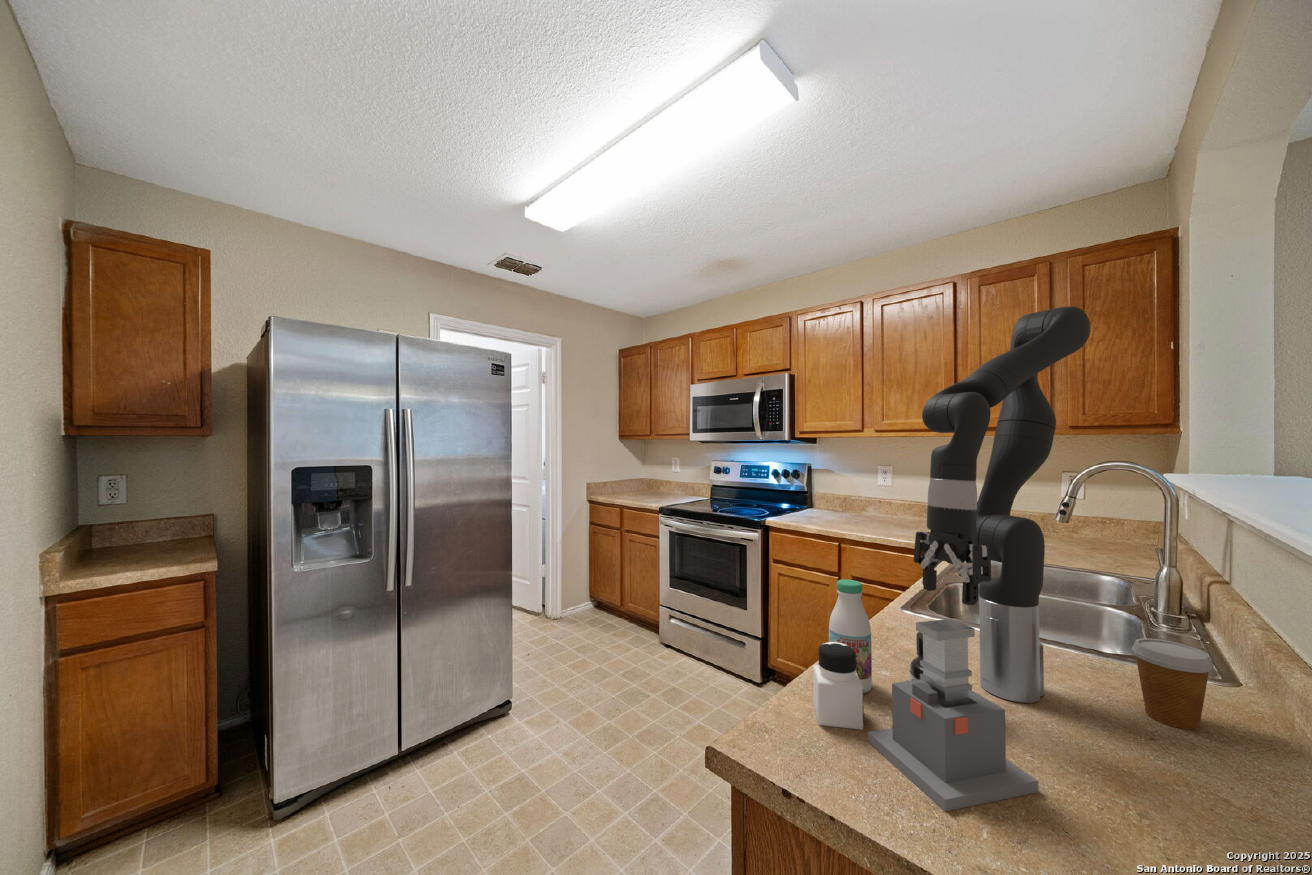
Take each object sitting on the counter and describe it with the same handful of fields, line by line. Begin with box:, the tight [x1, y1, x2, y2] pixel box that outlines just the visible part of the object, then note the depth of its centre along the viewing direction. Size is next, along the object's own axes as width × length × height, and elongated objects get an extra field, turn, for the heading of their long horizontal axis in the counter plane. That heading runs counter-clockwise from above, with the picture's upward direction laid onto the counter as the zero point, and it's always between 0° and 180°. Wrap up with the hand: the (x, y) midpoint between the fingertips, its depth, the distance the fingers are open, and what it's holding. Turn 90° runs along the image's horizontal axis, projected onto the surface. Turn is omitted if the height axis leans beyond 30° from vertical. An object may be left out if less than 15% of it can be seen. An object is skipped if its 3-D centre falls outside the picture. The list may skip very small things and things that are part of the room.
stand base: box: [867, 679, 1039, 812], centre depth 71 cm, size 15×15×12 cm
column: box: [915, 618, 976, 708], centre depth 71 cm, size 6×5×18 cm
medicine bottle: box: [812, 641, 865, 731], centre depth 83 cm, size 7×7×12 cm
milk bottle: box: [828, 578, 873, 694], centre depth 94 cm, size 8×8×20 cm
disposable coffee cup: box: [1131, 637, 1214, 730], centre depth 82 cm, size 10×10×12 cm
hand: (948, 596), depth 85 cm, fingers open, 8 cm apart
